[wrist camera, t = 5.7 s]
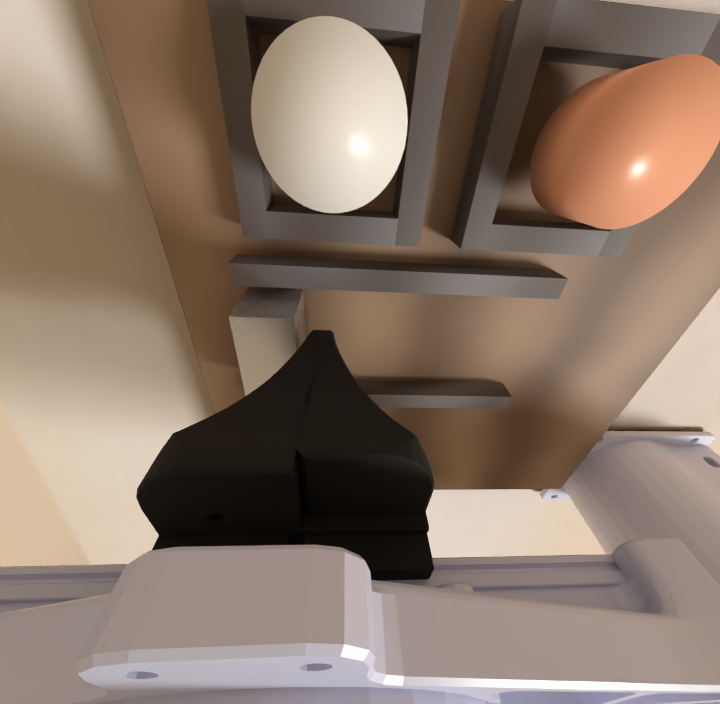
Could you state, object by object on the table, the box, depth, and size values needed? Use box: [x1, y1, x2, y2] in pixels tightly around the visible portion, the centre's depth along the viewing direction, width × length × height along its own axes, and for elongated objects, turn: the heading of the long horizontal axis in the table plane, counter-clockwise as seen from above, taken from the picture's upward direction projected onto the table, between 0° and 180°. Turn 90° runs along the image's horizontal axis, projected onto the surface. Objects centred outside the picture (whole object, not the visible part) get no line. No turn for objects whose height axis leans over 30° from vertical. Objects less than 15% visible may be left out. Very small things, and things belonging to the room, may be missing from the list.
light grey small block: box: [229, 287, 306, 396], centre depth 11 cm, size 2×4×2 cm, turn 177°
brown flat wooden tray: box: [88, 0, 720, 490], centre depth 14 cm, size 22×22×4 cm
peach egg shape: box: [530, 54, 720, 229], centre depth 7 cm, size 3×3×2 cm
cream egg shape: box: [251, 16, 408, 213], centre depth 7 cm, size 3×3×2 cm
